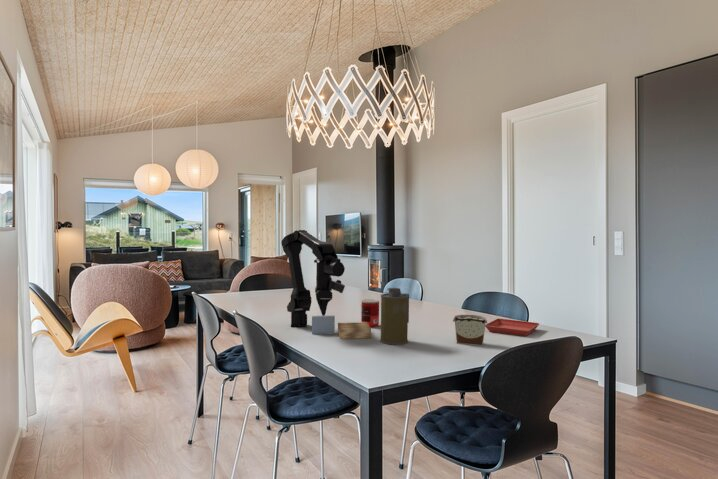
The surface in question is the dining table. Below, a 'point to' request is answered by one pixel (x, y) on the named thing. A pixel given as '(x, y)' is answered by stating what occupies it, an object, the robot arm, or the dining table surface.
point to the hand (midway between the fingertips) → (323, 313)
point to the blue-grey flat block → (323, 324)
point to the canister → (394, 317)
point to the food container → (470, 329)
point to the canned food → (370, 312)
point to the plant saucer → (511, 327)
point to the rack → (354, 330)
